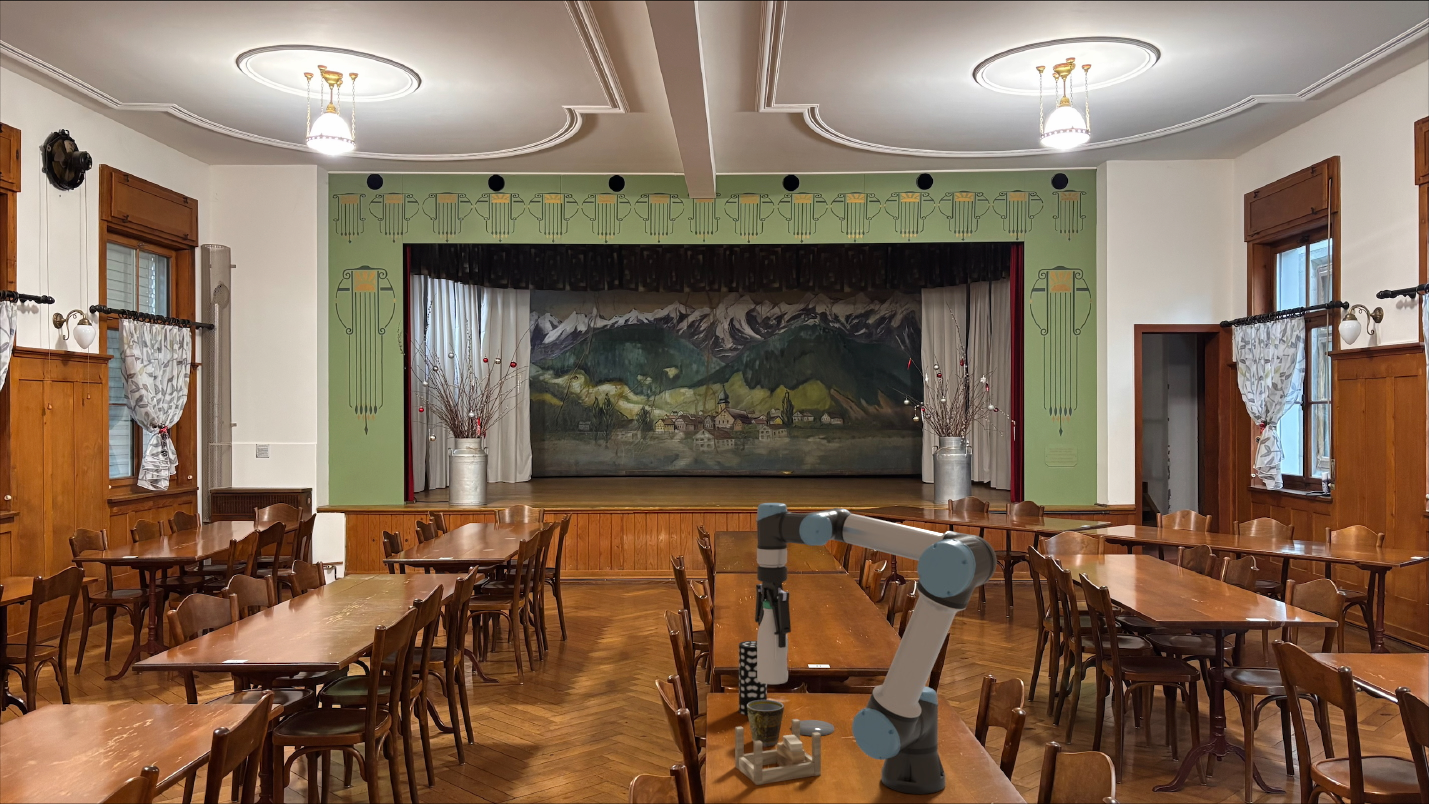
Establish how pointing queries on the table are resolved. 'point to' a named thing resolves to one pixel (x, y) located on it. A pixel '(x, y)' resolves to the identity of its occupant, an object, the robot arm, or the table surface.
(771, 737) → the ceramic cup
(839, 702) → the table surface
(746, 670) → the spotted tube
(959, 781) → the table surface
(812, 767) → the rack
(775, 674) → the milk bottle
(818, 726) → the grey round disc
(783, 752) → the offcut stack
